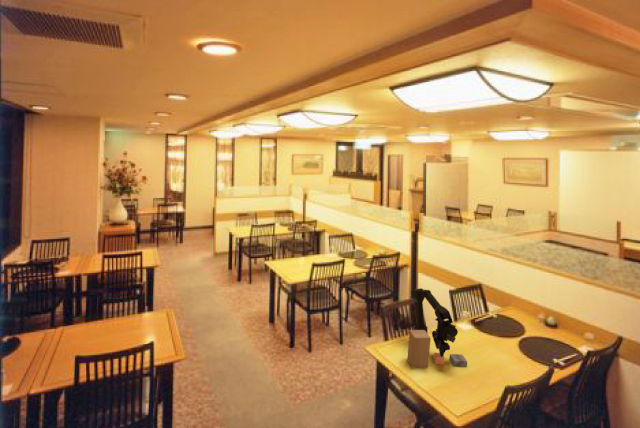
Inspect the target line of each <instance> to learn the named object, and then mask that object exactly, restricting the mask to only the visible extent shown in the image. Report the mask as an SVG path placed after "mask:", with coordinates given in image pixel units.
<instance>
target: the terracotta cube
mask: <svg viewBox="0 0 640 428" xmlns="http://www.w3.org/2000/svg"><path fill="white" fill-rule="evenodd" d="M433 361H434V363H435V365H445V355H443V357H441V356H440V352H434V353H433Z"/></svg>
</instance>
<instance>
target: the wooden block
mask: <svg viewBox="0 0 640 428" xmlns="http://www.w3.org/2000/svg"><path fill="white" fill-rule="evenodd" d="M431 340H432V339H431V336H430V335H429V334H428V333H427V332H426V331H425V330H414V329H409V333H408V349H407V356H406V357H407V362H408V363H409V364H410V367H411V368H412V369H421V368H423V369H424V368H425V369H428V367H429V359H430V358H429V357H430V347H431Z"/></svg>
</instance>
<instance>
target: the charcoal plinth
mask: <svg viewBox="0 0 640 428" xmlns="http://www.w3.org/2000/svg"><path fill="white" fill-rule="evenodd" d="M448 360H449V361H450V363H451V364H452V366H453V367H458V368H467V367H468V360H467V359H466V358H465V356H464V355H463V353H462V354H460V353H459V354H458V353H456V354H455V353H449V359H448Z"/></svg>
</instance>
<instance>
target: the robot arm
mask: <svg viewBox="0 0 640 428" xmlns="http://www.w3.org/2000/svg"><path fill="white" fill-rule="evenodd" d="M411 296H412V297H411V298H412V299H413V301H414V306H415V307H414V308H415V325H414V327H413V330H425V331H426V332H427V334H428V326H426V324H425V322H424V321H425V319H424V318H425V317H424V306H423V305H424V304H423V303H424V300H425V299H426V301H427V302H428V303H429V305H430V306H431V307H432V309H433V310H434V314H435V317H436V318H435V319H434V320H435V321H437V324H436V329H435V330H433V331H432V332H431V336H432V339H433V342H434V346H435V348H436V350H438V353H440V356H441V357H443V355H444V354H445V353H446V351H450V350H451V346H450V344H449V343H448V341H449V342H451V343H452V344H453V343H454V342H455V340H456V337H457V335H458V332H459V331H458V328H456V325H455V324H453V323H454V322H453V318H452V316H451V312H450V311H449V310H448V309H447V307H445V306H443V305H441V304H440V303H439V301H438V300H437V299H436V297H435V296H434V295H433V294H432V291H431V290H430V289H423V288H415V289H413V290H412V291H411ZM444 356H445V355H444Z"/></svg>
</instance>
